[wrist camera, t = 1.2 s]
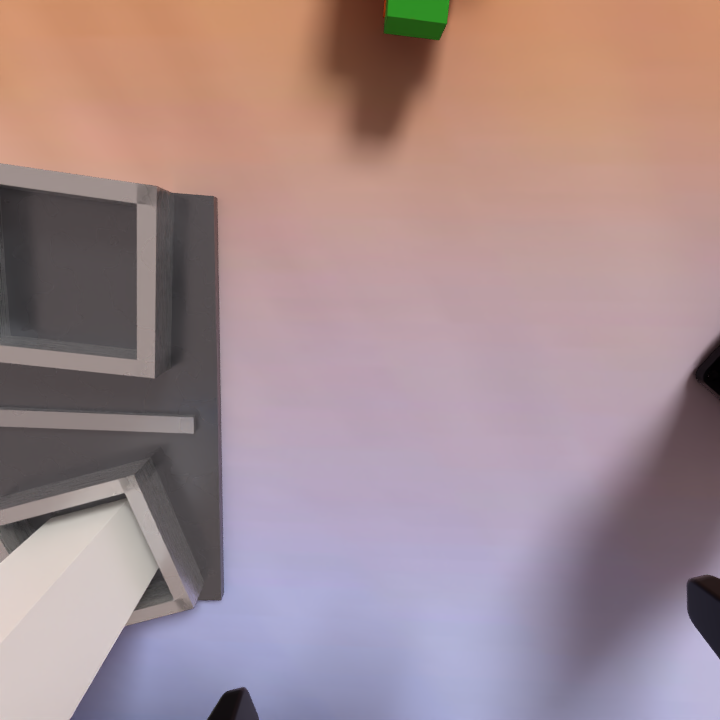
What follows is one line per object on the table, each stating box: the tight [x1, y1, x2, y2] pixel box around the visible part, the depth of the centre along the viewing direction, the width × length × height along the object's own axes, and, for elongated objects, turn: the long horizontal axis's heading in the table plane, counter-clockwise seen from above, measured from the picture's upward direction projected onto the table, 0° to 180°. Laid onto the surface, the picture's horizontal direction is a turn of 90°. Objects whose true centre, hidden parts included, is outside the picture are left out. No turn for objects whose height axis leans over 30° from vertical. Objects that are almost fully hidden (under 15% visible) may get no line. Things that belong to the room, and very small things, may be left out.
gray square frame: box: [0, 457, 204, 626], centre depth 19 cm, size 7×7×2 cm
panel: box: [0, 187, 224, 600], centre depth 18 cm, size 20×11×1 cm, turn 177°
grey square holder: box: [0, 163, 174, 378], centre depth 16 cm, size 7×7×2 cm
